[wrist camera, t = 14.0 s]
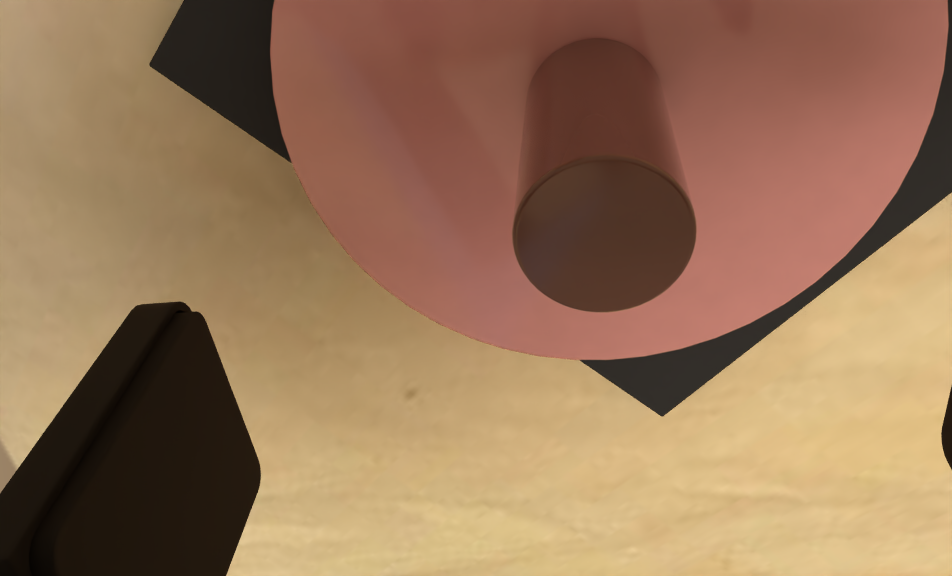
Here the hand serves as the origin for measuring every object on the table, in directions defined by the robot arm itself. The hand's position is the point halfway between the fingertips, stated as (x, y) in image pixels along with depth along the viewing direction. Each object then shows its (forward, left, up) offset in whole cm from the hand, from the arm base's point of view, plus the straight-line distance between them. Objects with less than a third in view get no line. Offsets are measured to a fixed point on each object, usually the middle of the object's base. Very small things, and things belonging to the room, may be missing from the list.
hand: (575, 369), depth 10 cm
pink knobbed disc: (0, 0, -9) cm, 9 cm away
